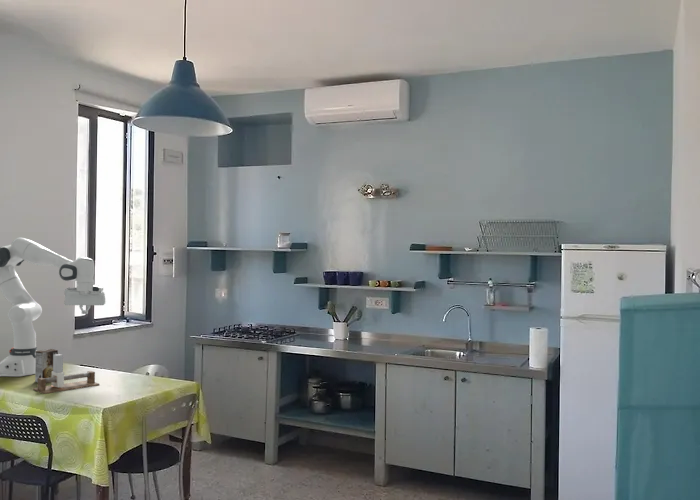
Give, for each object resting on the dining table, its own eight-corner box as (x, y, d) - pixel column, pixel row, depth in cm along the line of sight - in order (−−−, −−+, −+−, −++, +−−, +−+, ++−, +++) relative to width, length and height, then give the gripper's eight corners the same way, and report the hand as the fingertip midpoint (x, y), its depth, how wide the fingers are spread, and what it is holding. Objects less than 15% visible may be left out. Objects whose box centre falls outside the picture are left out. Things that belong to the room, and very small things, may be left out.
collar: (57, 384, 322) (58, 353, 322) (63, 386, 318) (64, 355, 317) (51, 385, 320) (52, 354, 320) (57, 387, 315) (58, 356, 315)
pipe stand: (88, 381, 337) (88, 369, 337) (99, 385, 329) (99, 372, 329) (33, 390, 316) (33, 376, 316) (43, 394, 308) (44, 380, 308)
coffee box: (50, 378, 342) (51, 348, 342) (58, 380, 339) (58, 349, 338) (34, 381, 334) (35, 350, 334) (42, 383, 331) (42, 352, 331)
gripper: (62, 288, 336) (62, 314, 336) (104, 288, 340) (103, 314, 340) (65, 287, 343) (65, 313, 343) (106, 287, 346) (105, 313, 346)
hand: (84, 313), depth 341 cm, fingers closed
